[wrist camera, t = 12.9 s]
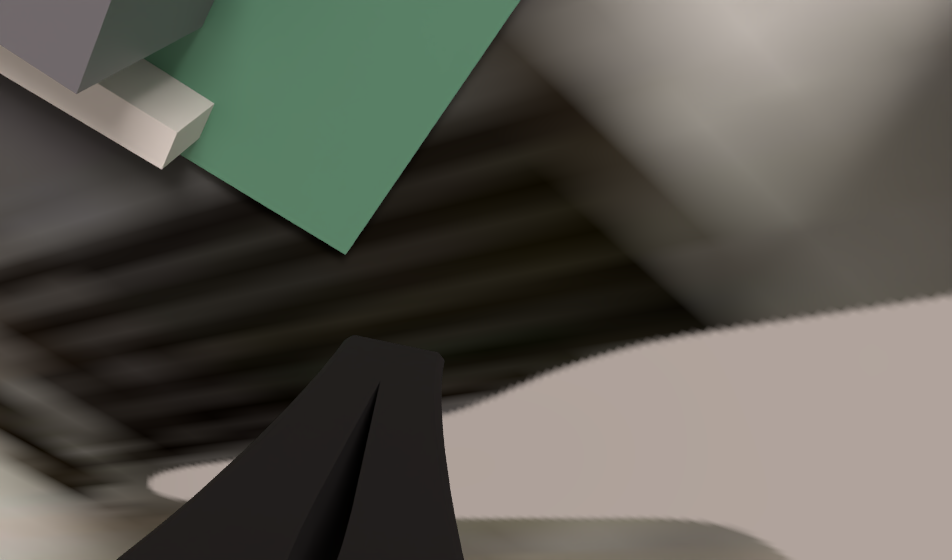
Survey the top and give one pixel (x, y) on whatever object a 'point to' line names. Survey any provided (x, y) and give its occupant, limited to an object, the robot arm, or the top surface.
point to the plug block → (94, 34)
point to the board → (292, 98)
